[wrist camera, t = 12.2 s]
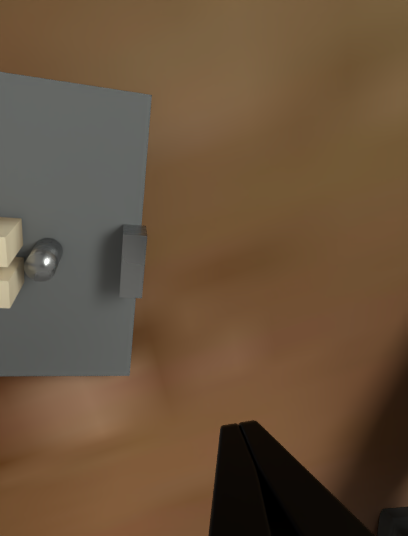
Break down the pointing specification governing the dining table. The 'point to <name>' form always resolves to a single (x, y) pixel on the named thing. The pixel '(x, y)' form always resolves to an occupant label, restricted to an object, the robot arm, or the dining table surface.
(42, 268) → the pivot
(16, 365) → the board
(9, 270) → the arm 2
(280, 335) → the dining table surface
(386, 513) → the gun
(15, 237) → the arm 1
